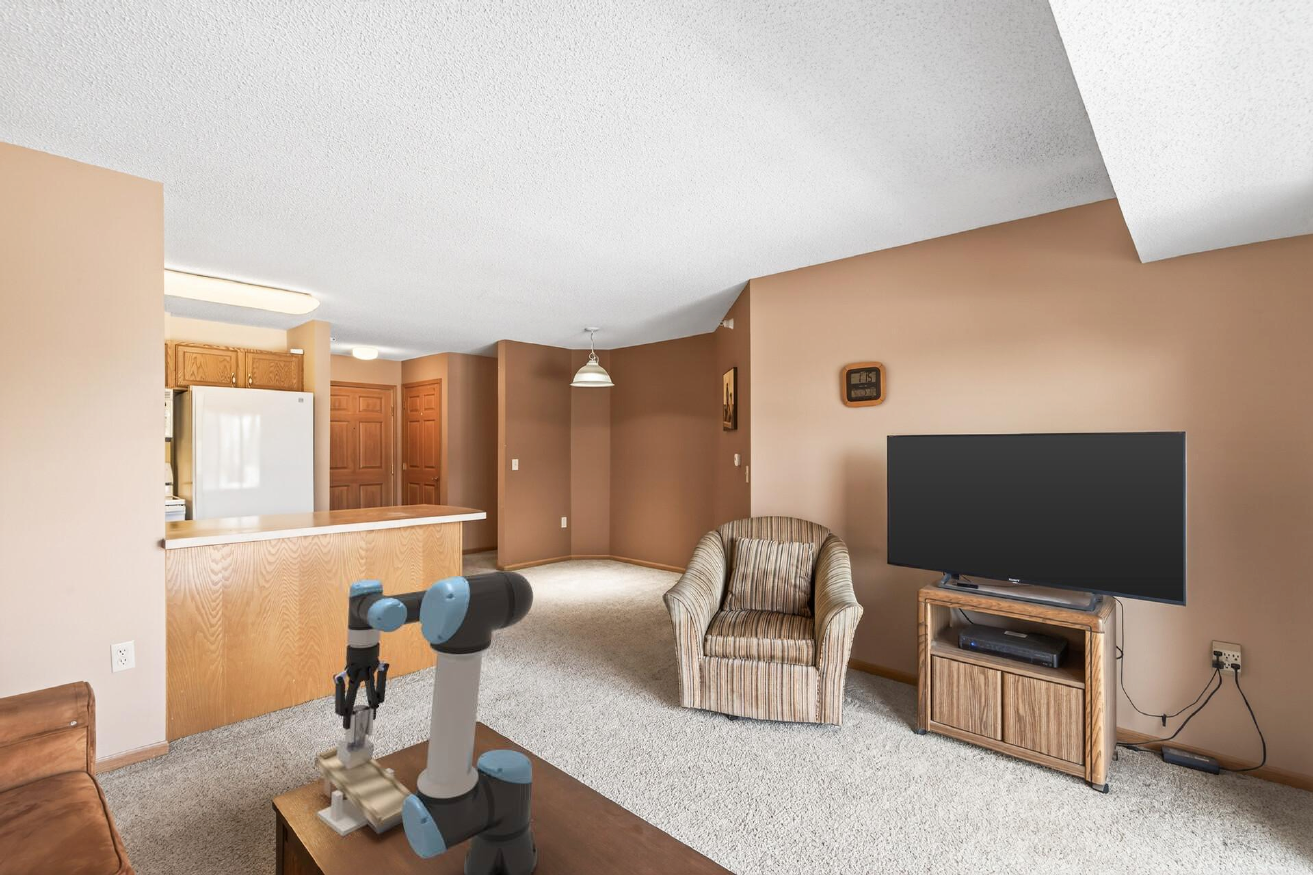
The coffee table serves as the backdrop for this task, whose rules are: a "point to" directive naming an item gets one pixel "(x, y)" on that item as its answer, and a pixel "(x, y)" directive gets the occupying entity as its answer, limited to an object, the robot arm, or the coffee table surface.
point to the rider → (357, 741)
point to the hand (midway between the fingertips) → (358, 736)
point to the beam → (367, 789)
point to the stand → (342, 810)
